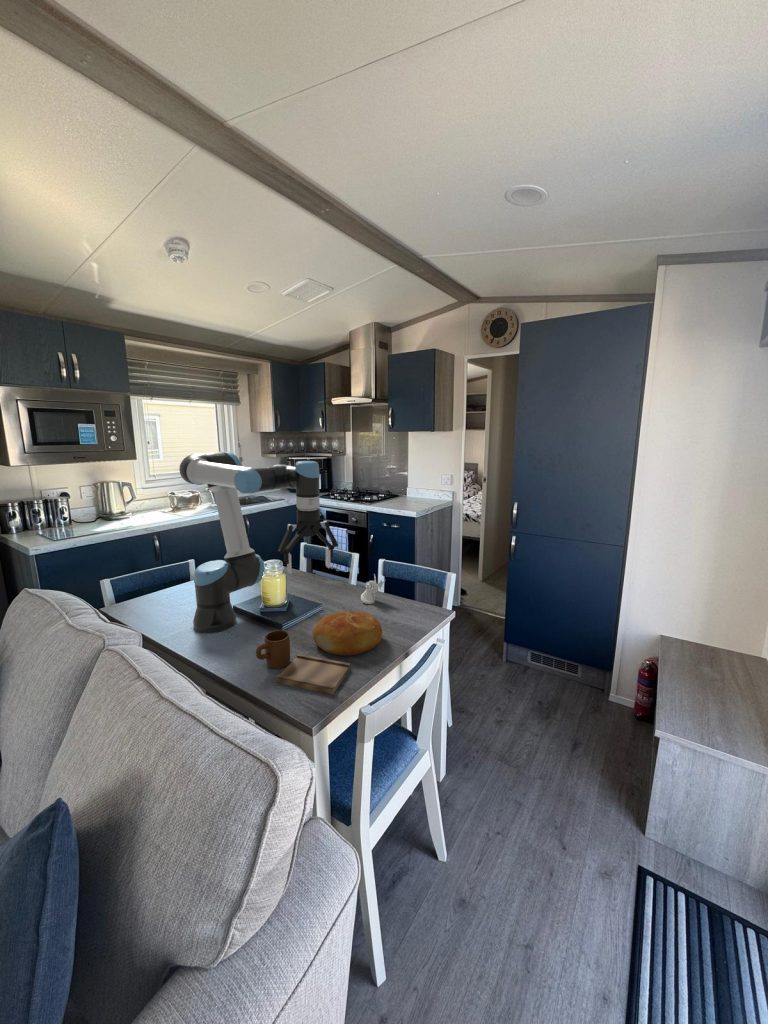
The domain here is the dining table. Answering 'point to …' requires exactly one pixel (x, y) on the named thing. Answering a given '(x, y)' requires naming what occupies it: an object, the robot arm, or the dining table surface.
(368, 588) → the figurine
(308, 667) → the board
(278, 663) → the mug
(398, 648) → the dining table surface
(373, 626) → the bread
